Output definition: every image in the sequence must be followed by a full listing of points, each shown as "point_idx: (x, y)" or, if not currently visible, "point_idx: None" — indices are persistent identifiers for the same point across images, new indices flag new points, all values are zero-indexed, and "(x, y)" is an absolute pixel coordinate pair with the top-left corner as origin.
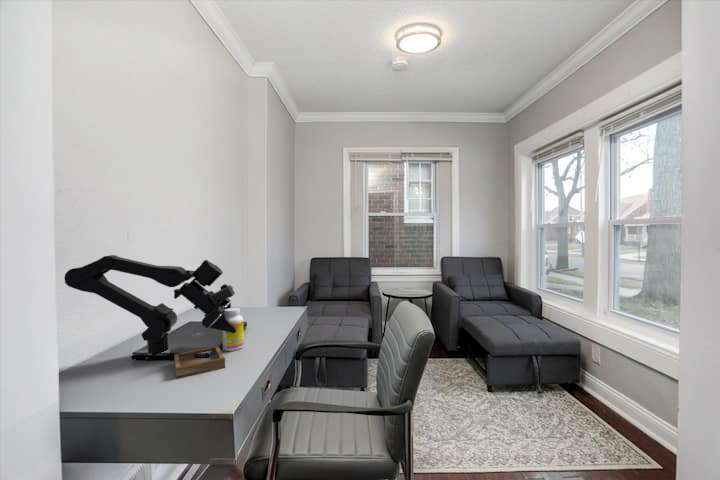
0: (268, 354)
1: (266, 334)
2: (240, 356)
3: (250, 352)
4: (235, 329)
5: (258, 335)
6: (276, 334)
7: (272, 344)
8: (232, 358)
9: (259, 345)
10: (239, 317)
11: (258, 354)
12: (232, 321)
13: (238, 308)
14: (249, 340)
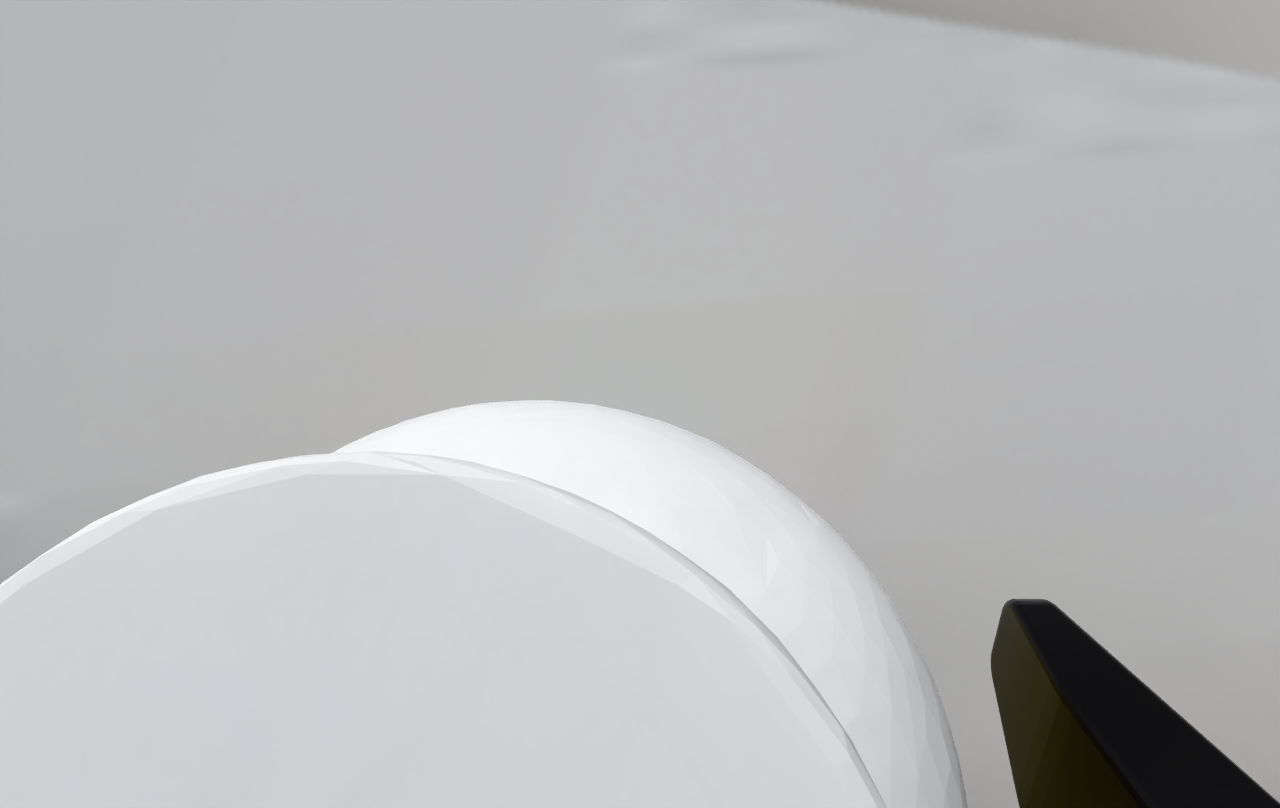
0: (1092, 95)
1: (98, 186)
2: (1090, 517)
3: (934, 372)
4: (1058, 625)
5: (93, 313)
6: (169, 33)
7: (647, 65)
8: (1160, 645)
9: (631, 257)
10: (666, 502)
11: (1058, 240)
12: (963, 786)
13: (185, 546)
14: (307, 444)
